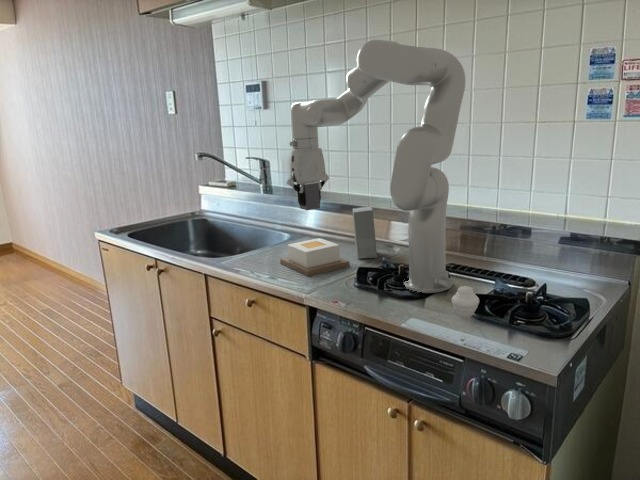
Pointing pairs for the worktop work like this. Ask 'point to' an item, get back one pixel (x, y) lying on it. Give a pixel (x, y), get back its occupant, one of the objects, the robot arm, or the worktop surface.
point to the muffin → (465, 301)
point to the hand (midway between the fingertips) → (309, 203)
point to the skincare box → (364, 232)
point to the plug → (311, 196)
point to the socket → (314, 257)
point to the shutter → (312, 245)
